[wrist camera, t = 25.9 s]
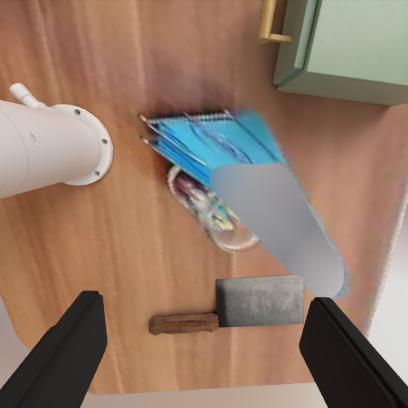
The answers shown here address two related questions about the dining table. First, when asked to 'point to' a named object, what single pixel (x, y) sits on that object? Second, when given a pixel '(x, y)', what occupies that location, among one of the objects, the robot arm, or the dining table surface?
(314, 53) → the cabinet
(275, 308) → the meat cleaver
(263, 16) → the drawer
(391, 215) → the dining table surface
